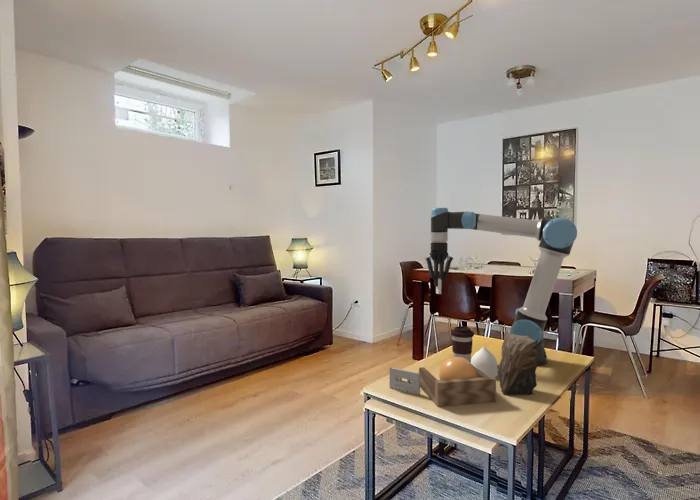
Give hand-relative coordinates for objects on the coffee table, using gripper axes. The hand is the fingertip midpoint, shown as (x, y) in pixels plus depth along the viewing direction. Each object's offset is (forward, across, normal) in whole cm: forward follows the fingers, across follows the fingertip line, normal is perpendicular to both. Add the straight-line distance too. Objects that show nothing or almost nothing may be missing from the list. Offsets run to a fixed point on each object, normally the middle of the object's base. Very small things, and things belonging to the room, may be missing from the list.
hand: (438, 293), depth 190 cm
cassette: (+30, +27, +36) cm, 54 cm away
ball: (+23, +9, +41) cm, 48 cm away
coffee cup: (+30, -8, +8) cm, 32 cm away
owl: (+30, -12, +42) cm, 53 cm away
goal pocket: (+29, +10, +41) cm, 51 cm away
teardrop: (+30, -10, +24) cm, 39 cm away
